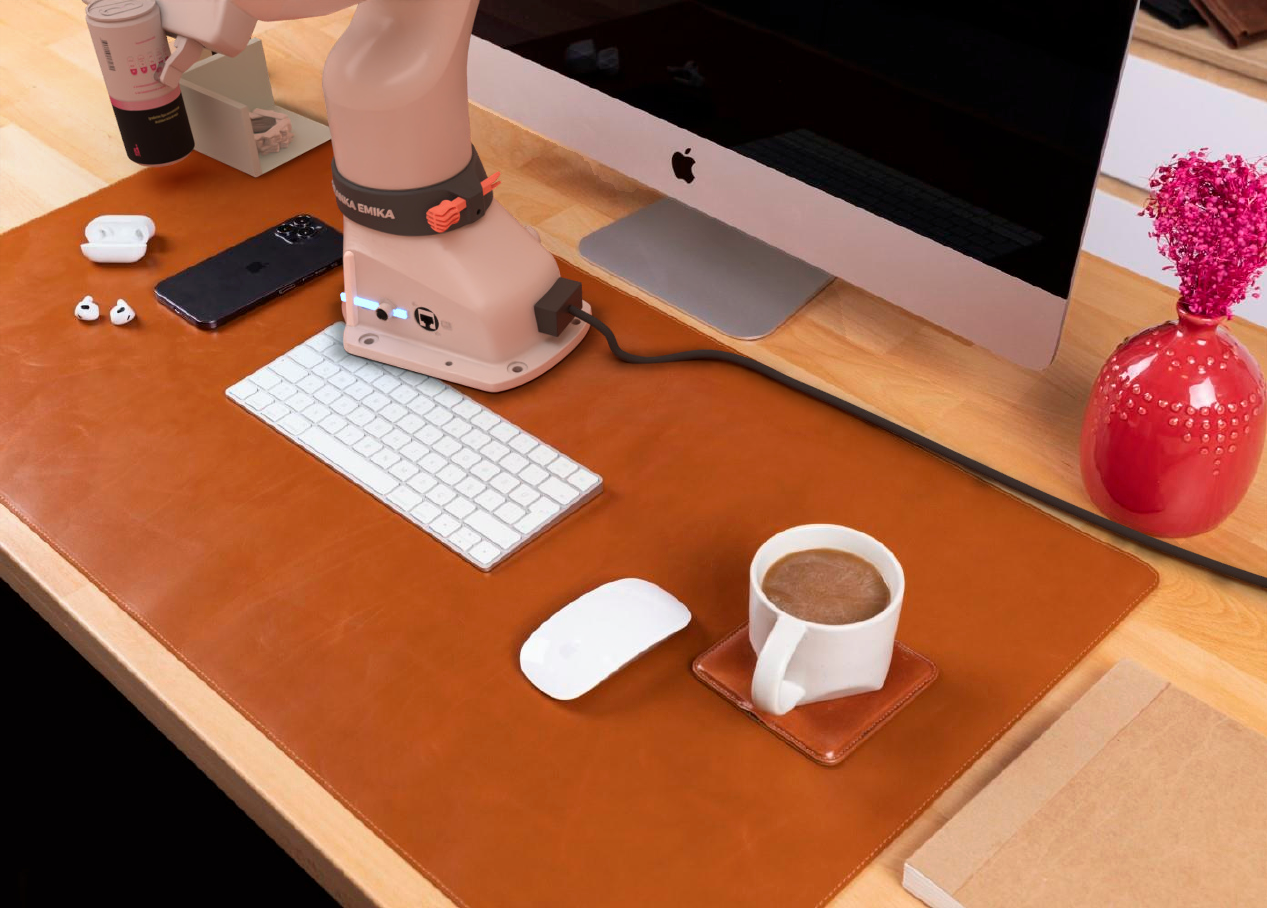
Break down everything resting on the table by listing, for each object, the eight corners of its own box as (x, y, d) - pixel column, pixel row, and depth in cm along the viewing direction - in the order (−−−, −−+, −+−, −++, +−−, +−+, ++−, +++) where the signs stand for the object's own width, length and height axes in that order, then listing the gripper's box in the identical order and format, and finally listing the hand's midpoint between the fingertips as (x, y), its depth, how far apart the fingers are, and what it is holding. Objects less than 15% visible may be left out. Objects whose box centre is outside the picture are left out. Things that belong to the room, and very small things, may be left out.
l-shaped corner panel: (255, 177, 129) (240, 109, 124) (180, 143, 135) (163, 76, 130) (343, 132, 136) (331, 66, 131) (268, 102, 142) (254, 37, 137)
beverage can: (118, 151, 127) (72, 3, 117) (179, 131, 130) (140, -14, 120) (143, 175, 123) (99, 25, 113) (206, 155, 126) (168, 6, 116)
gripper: (96, -98, 122) (41, 35, 123) (242, -58, 113) (183, 86, 114) (145, -65, 128) (93, 63, 128) (288, -24, 119) (232, 113, 120)
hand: (137, 74), depth 121 cm, fingers closed on beverage can, 6 cm apart
